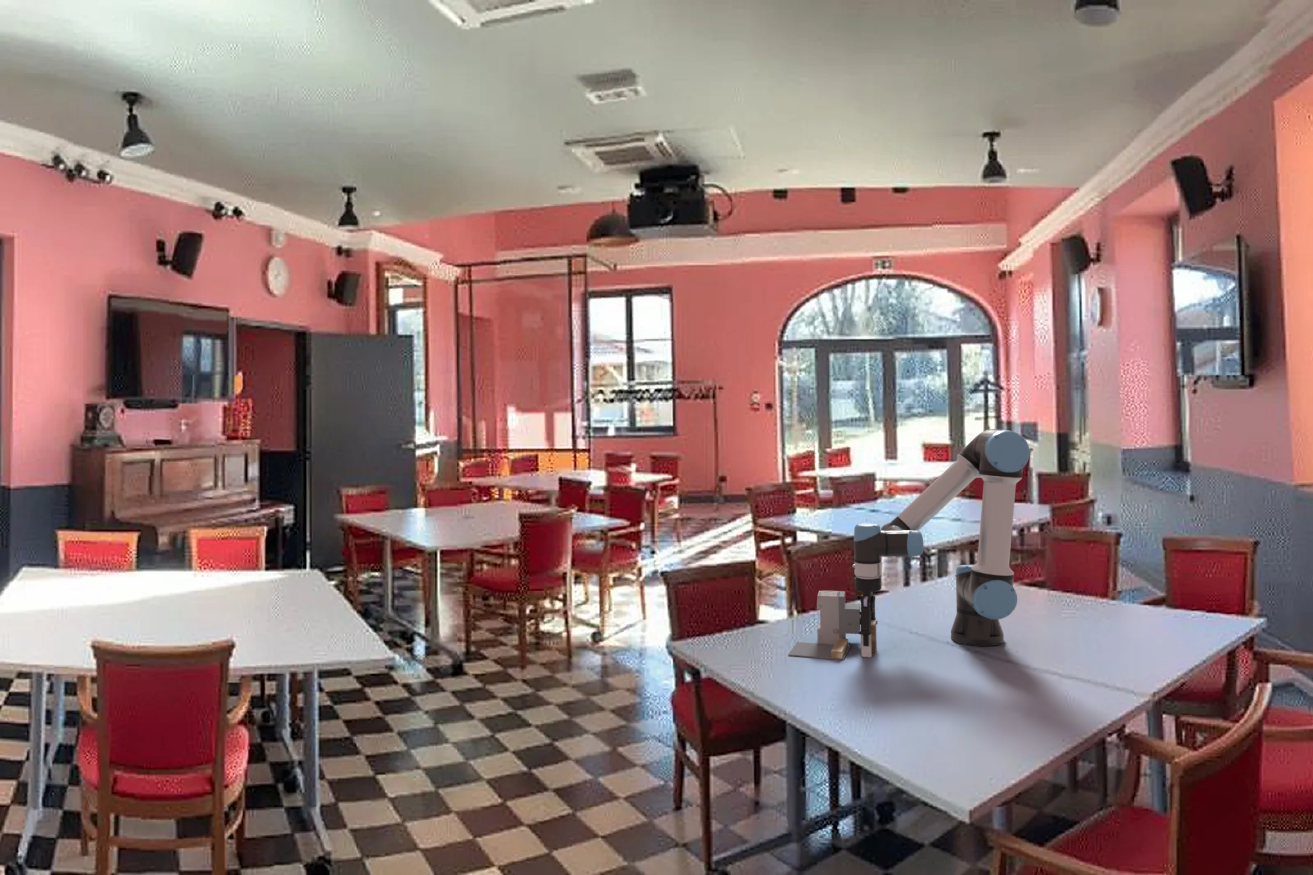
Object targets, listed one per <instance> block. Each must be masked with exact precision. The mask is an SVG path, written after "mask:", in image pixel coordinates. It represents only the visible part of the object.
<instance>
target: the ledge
mask: <svg viewBox="0 0 1313 875" xmlns="http://www.w3.org/2000/svg"><path fill="white" fill-rule="evenodd" d="M848 646H849V638H846V639H841V638H838V639H837V641H836V643H835V645H834V647H833V648H832V650H831V658H840V659H842V657H843V655H844V653H845V651H846V649H847V647H848Z"/></svg>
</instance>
